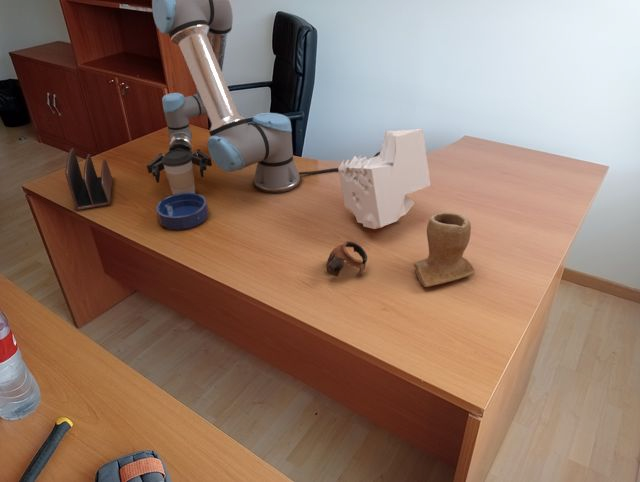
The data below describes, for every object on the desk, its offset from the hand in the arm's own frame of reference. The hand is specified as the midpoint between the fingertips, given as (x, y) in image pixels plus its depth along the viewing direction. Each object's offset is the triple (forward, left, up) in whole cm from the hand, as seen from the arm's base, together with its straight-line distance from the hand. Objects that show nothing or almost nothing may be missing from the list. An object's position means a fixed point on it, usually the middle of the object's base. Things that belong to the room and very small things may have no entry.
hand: (179, 176), depth 151 cm
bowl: (-2, +11, -9) cm, 14 cm away
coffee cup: (0, -3, -9) cm, 9 cm away
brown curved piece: (-47, +41, -9) cm, 63 cm away
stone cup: (-72, +43, -9) cm, 84 cm away
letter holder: (+30, -7, -9) cm, 32 cm away
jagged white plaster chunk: (-61, +16, -9) cm, 63 cm away
